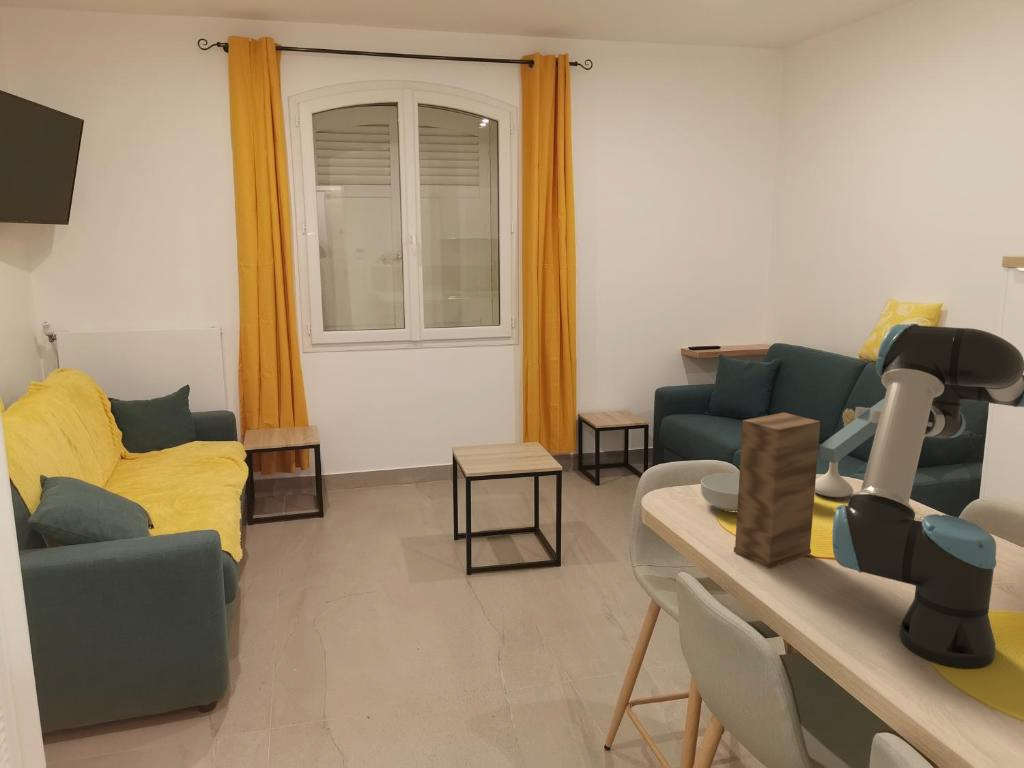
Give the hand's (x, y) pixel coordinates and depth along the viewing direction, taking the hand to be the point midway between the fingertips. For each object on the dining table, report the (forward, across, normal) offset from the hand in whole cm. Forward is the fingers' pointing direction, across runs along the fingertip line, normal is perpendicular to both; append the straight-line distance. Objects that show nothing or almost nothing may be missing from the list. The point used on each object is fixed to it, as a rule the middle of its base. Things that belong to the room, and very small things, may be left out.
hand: (865, 414), depth 172 cm
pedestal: (+8, +10, -36) cm, 38 cm away
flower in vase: (-39, +28, -27) cm, 55 cm away
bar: (0, 0, -5) cm, 5 cm away
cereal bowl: (-7, +36, -33) cm, 50 cm away
